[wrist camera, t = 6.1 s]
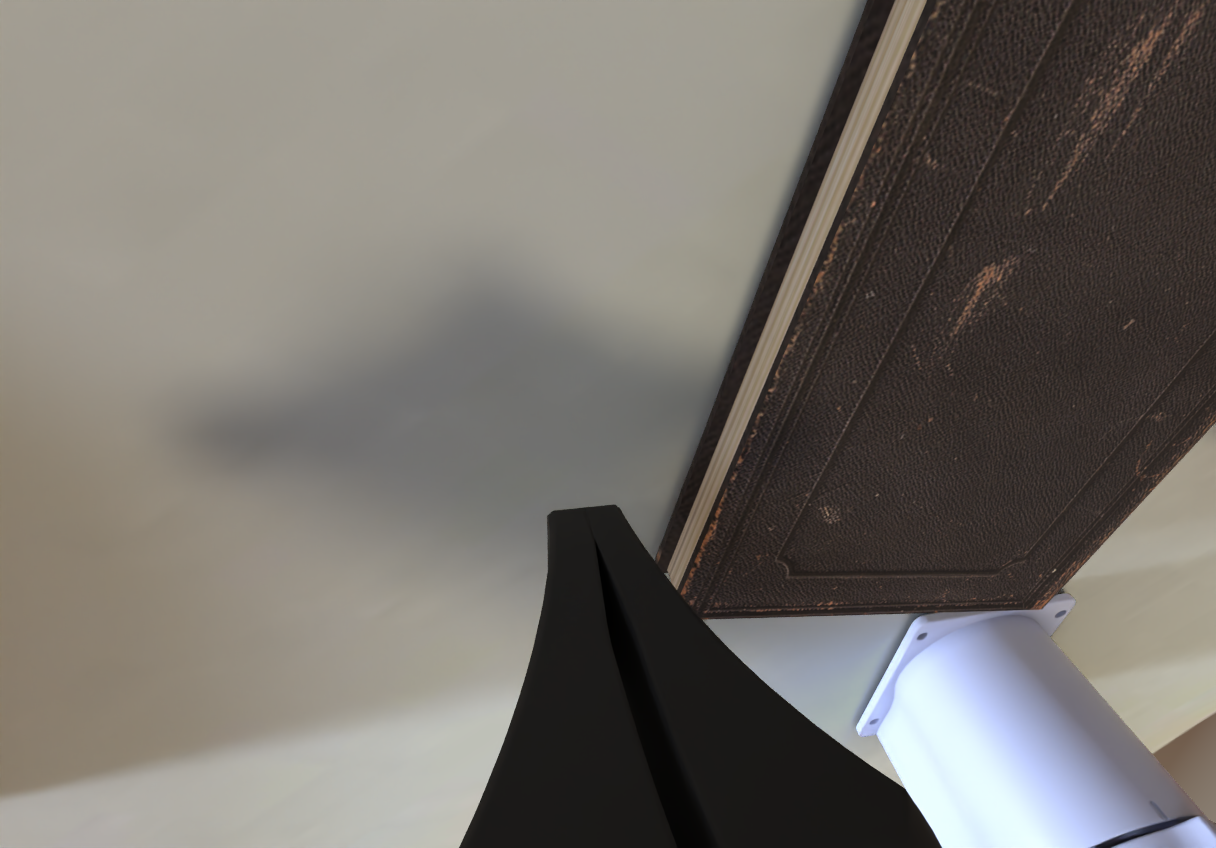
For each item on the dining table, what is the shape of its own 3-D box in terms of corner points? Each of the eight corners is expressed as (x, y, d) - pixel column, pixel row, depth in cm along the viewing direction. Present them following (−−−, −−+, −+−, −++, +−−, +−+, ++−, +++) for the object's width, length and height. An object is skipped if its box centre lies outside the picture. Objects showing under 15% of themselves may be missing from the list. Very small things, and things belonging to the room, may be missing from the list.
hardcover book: (651, 565, 22) (670, 621, 20) (1068, -537, 9) (1223, -657, 7) (1011, 565, 26) (1053, 610, 25) (1620, -164, 14) (1799, -181, 12)
